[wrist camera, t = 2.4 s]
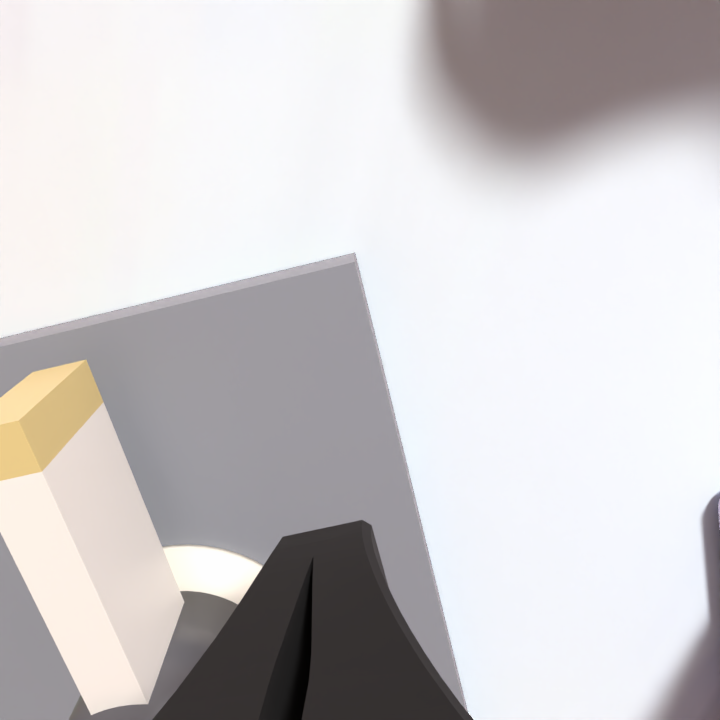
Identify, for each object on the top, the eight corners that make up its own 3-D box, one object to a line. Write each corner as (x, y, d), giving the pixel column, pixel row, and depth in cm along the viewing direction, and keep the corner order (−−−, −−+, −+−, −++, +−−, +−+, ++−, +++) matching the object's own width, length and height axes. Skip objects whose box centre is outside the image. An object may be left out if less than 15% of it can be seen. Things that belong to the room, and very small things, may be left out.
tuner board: (355, 253, 15) (354, 263, 14) (479, 759, 21) (486, 796, 19) (-281, 406, 17) (-328, 427, 15) (-9, 846, 22) (-29, 887, 21)
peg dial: (297, 709, 18) (282, 856, 14) (140, 739, 18) (87, 890, 15) (164, 336, 14) (100, 409, 11) (-28, 381, 15) (-152, 467, 11)
